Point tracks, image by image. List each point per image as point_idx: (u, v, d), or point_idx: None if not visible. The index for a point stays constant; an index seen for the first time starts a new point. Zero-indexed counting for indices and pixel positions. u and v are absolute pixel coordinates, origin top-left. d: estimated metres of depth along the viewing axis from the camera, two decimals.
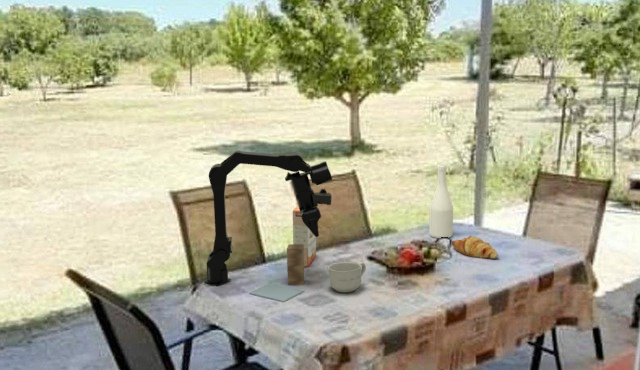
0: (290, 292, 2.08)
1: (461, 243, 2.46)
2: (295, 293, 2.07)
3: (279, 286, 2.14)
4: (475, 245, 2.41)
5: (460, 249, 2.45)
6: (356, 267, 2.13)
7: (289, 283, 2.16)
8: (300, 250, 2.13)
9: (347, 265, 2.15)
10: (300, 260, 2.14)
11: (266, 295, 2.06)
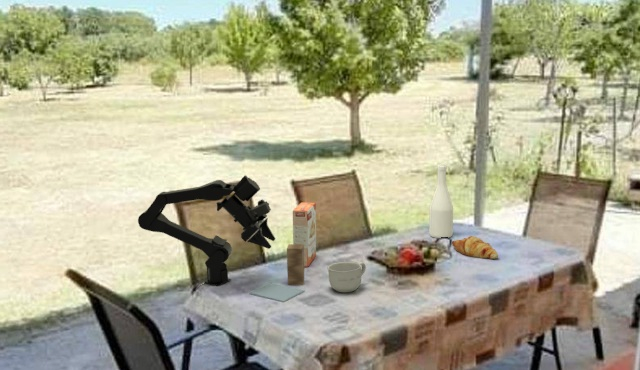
0: (290, 292, 2.08)
1: (461, 243, 2.46)
2: (295, 293, 2.07)
3: (279, 286, 2.14)
4: (475, 245, 2.41)
5: (460, 249, 2.45)
6: (356, 267, 2.13)
7: (289, 283, 2.16)
8: (300, 250, 2.13)
9: (347, 265, 2.15)
10: (300, 260, 2.14)
11: (266, 295, 2.06)
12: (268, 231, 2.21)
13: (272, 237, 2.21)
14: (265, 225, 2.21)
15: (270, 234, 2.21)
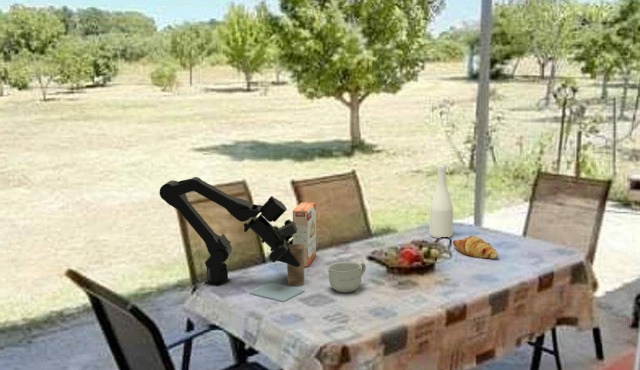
0: (290, 292, 2.08)
1: (462, 243, 2.46)
2: (295, 293, 2.07)
3: (279, 286, 2.14)
4: (475, 245, 2.41)
5: (460, 249, 2.46)
6: (356, 267, 2.13)
7: (289, 283, 2.16)
8: (300, 250, 2.13)
9: (347, 265, 2.15)
10: (300, 260, 2.14)
11: (266, 295, 2.06)
12: None
13: None
14: None
15: None
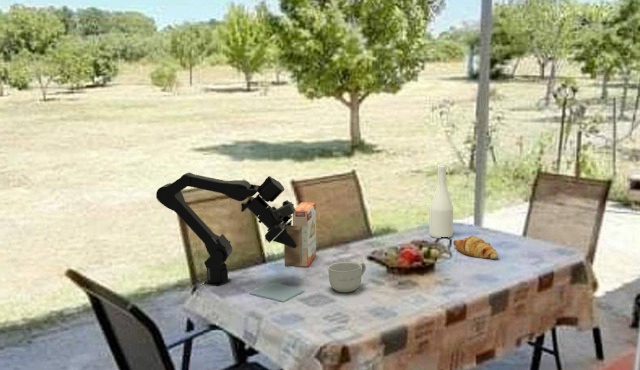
0: (290, 292, 2.08)
1: (462, 243, 2.46)
2: (295, 293, 2.07)
3: (279, 286, 2.14)
4: (475, 245, 2.42)
5: (461, 249, 2.46)
6: (356, 267, 2.13)
7: (286, 264, 2.13)
8: (297, 231, 2.11)
9: (347, 265, 2.15)
10: (297, 241, 2.11)
11: (266, 295, 2.06)
12: None
13: None
14: None
15: None
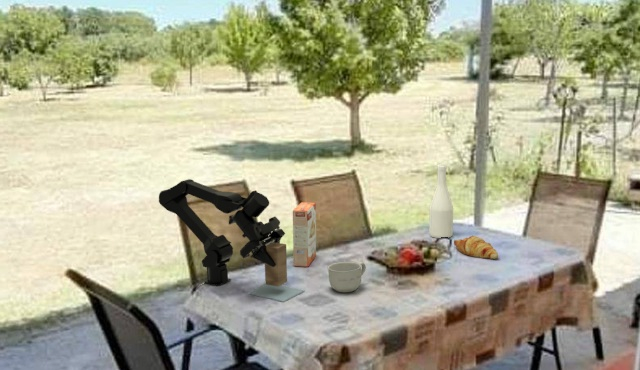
0: (290, 292, 2.08)
1: (462, 243, 2.46)
2: (295, 293, 2.07)
3: (279, 286, 2.14)
4: (476, 245, 2.41)
5: (461, 249, 2.46)
6: (356, 267, 2.13)
7: (266, 282, 2.07)
8: (276, 249, 2.03)
9: (347, 265, 2.15)
10: (276, 260, 2.04)
11: (266, 295, 2.06)
12: None
13: None
14: None
15: None
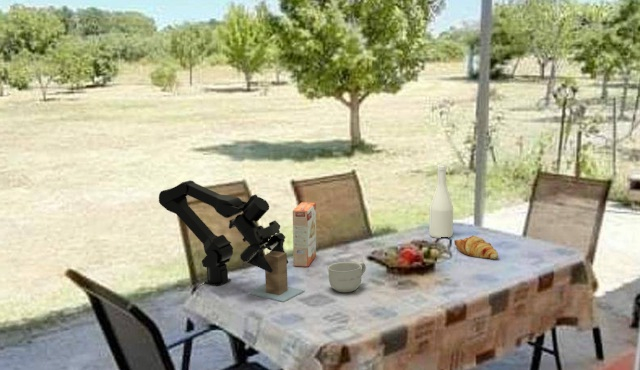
0: (290, 292, 2.08)
1: (462, 243, 2.46)
2: (295, 293, 2.07)
3: None
4: (476, 245, 2.42)
5: (461, 249, 2.46)
6: (356, 267, 2.13)
7: (267, 291, 2.08)
8: (276, 258, 2.04)
9: (347, 265, 2.15)
10: (276, 269, 2.04)
11: (266, 295, 2.06)
12: None
13: None
14: (279, 247, 2.12)
15: None
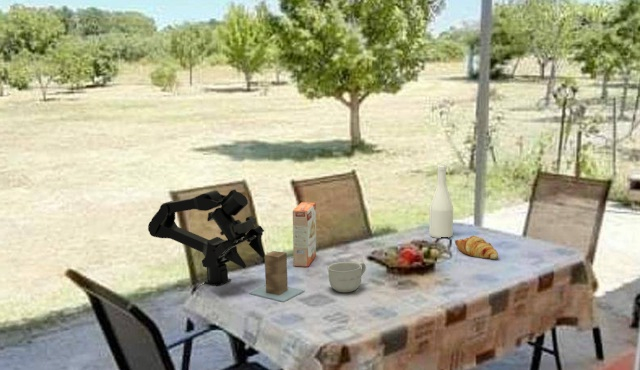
0: (290, 292, 2.08)
1: (463, 243, 2.46)
2: (295, 293, 2.07)
3: None
4: (476, 245, 2.42)
5: (462, 248, 2.46)
6: (356, 267, 2.13)
7: (267, 291, 2.08)
8: (276, 258, 2.04)
9: (347, 265, 2.15)
10: (276, 269, 2.04)
11: (266, 295, 2.06)
12: (259, 247, 2.15)
13: (262, 254, 2.15)
14: (256, 241, 2.15)
15: (260, 251, 2.15)
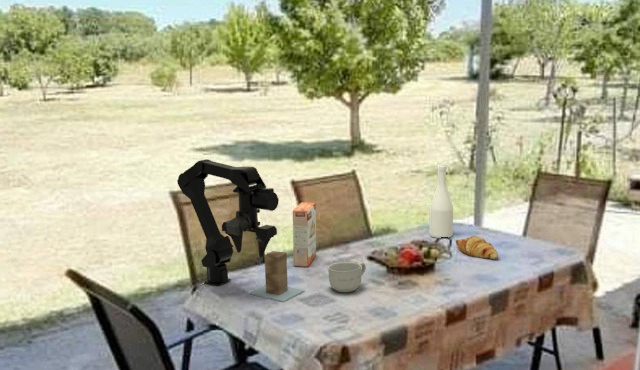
0: (290, 292, 2.08)
1: (463, 242, 2.46)
2: (295, 293, 2.07)
3: None
4: (476, 245, 2.42)
5: (462, 248, 2.46)
6: (356, 267, 2.13)
7: (267, 291, 2.08)
8: (276, 258, 2.04)
9: (347, 265, 2.15)
10: (276, 269, 2.04)
11: (266, 295, 2.06)
12: None
13: None
14: None
15: None
